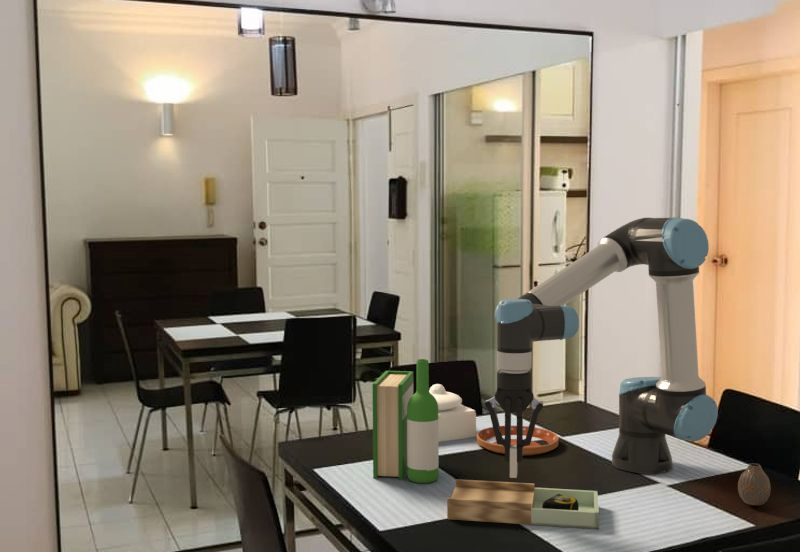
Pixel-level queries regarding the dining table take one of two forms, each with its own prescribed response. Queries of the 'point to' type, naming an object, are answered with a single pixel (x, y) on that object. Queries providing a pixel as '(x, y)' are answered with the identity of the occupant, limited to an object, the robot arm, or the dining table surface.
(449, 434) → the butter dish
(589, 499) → the tray
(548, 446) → the saucer
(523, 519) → the wooden tray
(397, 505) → the dining table surface
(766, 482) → the vase
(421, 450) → the wine bottle
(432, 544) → the dining table surface
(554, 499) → the tape measure
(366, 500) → the dining table surface
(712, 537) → the dining table surface
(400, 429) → the hardback book
